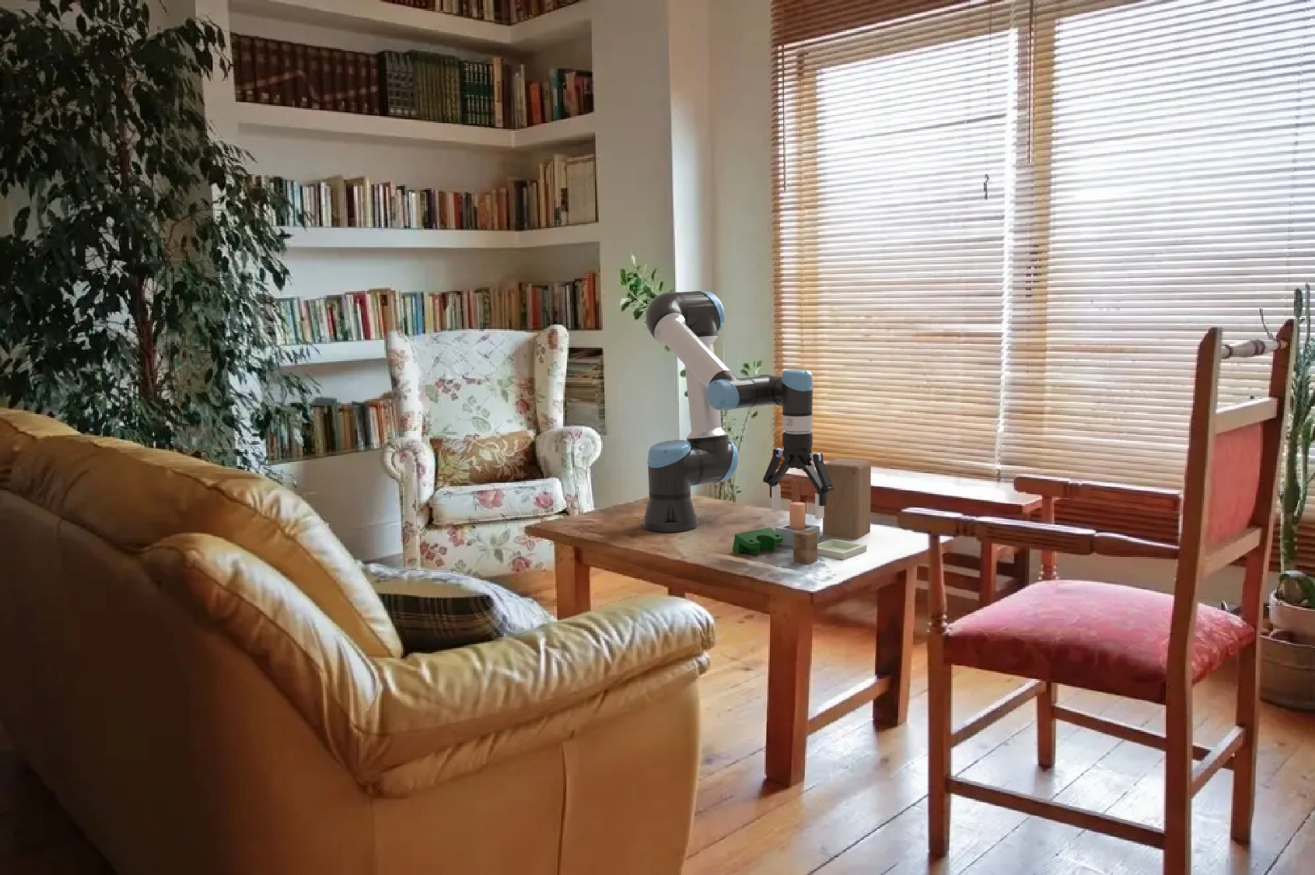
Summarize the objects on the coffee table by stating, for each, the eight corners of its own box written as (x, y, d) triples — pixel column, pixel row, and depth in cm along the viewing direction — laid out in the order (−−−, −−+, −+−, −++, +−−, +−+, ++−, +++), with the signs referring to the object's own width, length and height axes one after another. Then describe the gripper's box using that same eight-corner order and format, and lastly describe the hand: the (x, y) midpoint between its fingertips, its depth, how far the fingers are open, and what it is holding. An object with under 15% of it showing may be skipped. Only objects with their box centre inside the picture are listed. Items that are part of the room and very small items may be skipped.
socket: (775, 546, 263) (775, 527, 262) (794, 540, 268) (794, 521, 267) (800, 552, 257) (800, 532, 256) (819, 545, 263) (819, 526, 262)
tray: (809, 556, 253) (809, 546, 252) (832, 548, 260) (832, 538, 260) (843, 563, 246) (843, 553, 246) (866, 554, 253) (866, 545, 253)
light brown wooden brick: (793, 565, 245) (793, 532, 244) (803, 562, 248) (803, 529, 247) (807, 568, 242) (807, 535, 241) (817, 565, 245) (817, 532, 244)
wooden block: (857, 543, 264) (858, 466, 261) (821, 538, 270) (821, 463, 267) (871, 534, 273) (872, 460, 270) (836, 530, 278) (836, 457, 275)
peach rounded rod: (786, 542, 262) (786, 504, 261) (795, 539, 265) (795, 501, 264) (799, 545, 260) (799, 506, 258) (808, 542, 262) (808, 503, 261)
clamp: (750, 576, 253) (744, 548, 248) (736, 565, 257) (729, 537, 252) (788, 551, 257) (782, 523, 252) (773, 541, 262) (767, 513, 257)
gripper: (749, 429, 264) (749, 510, 267) (830, 438, 247) (829, 524, 250) (767, 425, 269) (767, 505, 273) (847, 434, 252) (847, 519, 255)
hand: (797, 514), depth 261 cm, fingers open, 13 cm apart
